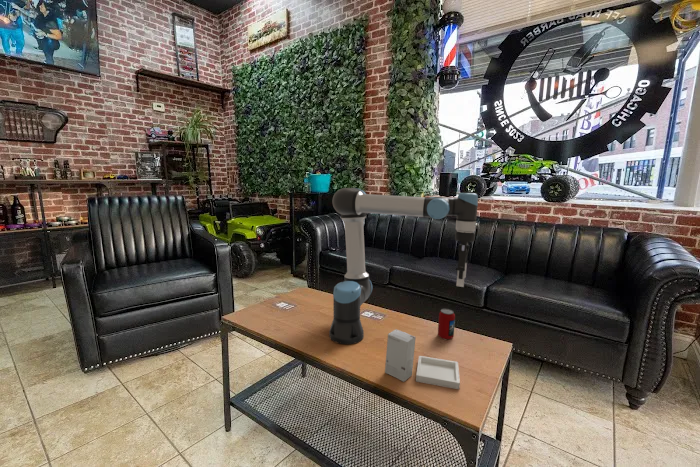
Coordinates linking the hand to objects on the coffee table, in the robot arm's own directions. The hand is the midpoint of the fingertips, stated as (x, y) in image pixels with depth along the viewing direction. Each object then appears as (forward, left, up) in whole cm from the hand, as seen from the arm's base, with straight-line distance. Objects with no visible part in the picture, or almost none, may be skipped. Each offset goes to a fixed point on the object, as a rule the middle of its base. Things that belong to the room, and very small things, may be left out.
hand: (461, 281), depth 129 cm
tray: (-8, -27, -27) cm, 39 cm away
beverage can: (-5, +3, -27) cm, 28 cm away
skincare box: (-21, -31, -27) cm, 46 cm away
